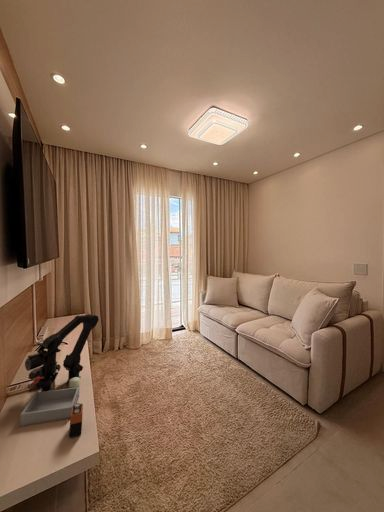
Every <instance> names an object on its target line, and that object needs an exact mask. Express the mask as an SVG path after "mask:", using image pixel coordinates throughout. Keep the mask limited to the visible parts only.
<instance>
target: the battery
mask: <svg viewBox="0 0 384 512" xmlns="http://www.w3.org/2000/svg"><path fill="white" fill-rule="evenodd" d="M83 409H84V403H79V402H78V403H76V404H75V405H73V406H72V409H71V415H70V419H69V434H68V436H69V438H70V439H72V438H75V437H79V436H81V435H82V430H83V428H82V427H83V415H84V414H83V413H84V411H83Z"/></svg>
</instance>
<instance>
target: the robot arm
mask: <svg viewBox="0 0 384 512" xmlns="http://www.w3.org/2000/svg"><path fill="white" fill-rule="evenodd" d="M98 323H99V316H98V315H96V314H91V313H88V314H83V315H79V314H77V315H76V316H74V318H73V319H71V321H69V322H68V323H67V324H66V325H64V326H63V327H62V328H61V329H60V330H59V331H57V332H56V333H53V334H50V335H49V336H48V337H46V338H44V340H43V341H42V343H41V345H40V346H39V348H38V350H36V352H37V353H35V354H34V353H33V354H30V355H27V359H25V362H24V367H25V370H26V371H28V372H29V371H30V372H29V373H28V377H27V378H28V379H29V380H32V381H33V379H34V378H36V377H39V376H40V377H44V378H43V379H39V380H38V381H37V383H36V384H35V385H34V389H35V390H39V389H40V390H41V388H42V389H43V391H49V390H50V387H51V385H52V383H53V381H55V382H56V379H57V376H58V374H59V372H60V370H61V367H62V366H63V368H64V369H65V370H66V371H68V376H67V381H66V382H65V383H66V385H69V380H70V379H71V378H74V377H79V378H80V379H81V377H82V376H80V373H81V372H82V371H83V369H84V366H83V365H82V364H80V363H81V355H82V352H83V350H84V347H85V345H86V343H87V340H88V338H89V335H90V334H91V331H92V330H93V329H94V328H95V327H96V326H97V324H98ZM81 324H82V330H81V332H80V334H79V335H78V338H77V340H76V342H75V345H74V347H73V349H72V351H71V352H70V353H69V354H66V355H65V358H64V360H63V361H62V362H63V364H62V366H61V365H60V364H58V361H57V353H60V352H61V349H59V346H60V345H61V344H62V342H63V340H64V339H65V338H66V337H67V336H68V335H70V334H71V333H72V332H73V331H74V330H75V329H76V328H77V327H78V326H79V325H81Z"/></svg>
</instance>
